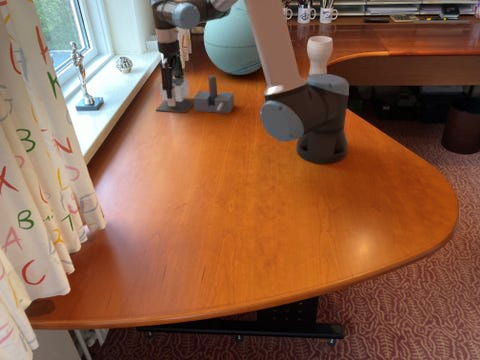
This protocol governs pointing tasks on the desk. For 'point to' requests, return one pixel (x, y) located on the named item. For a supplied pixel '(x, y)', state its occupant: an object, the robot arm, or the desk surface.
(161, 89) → the collar
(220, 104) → the vise
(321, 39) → the cup
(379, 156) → the desk surface
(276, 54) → the robot arm
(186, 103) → the mat
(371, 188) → the desk surface
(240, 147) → the desk surface
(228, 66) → the globe
